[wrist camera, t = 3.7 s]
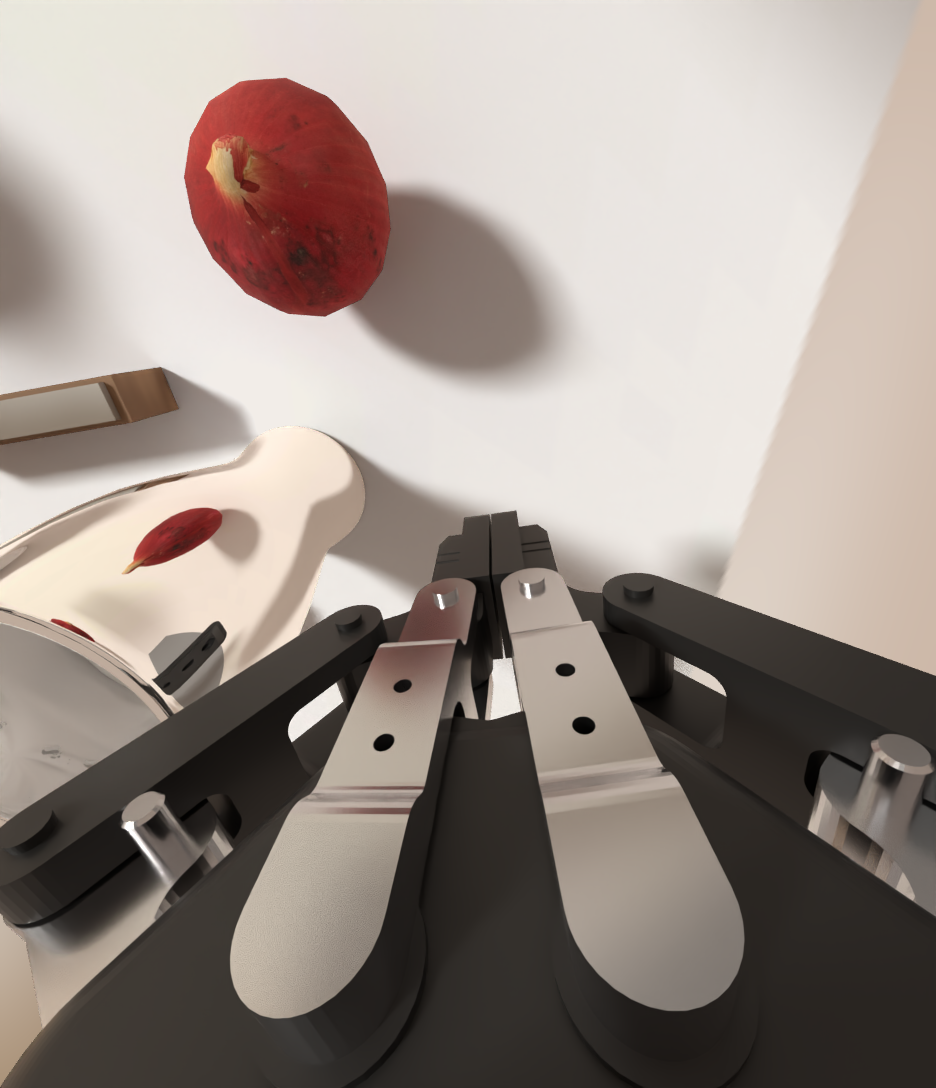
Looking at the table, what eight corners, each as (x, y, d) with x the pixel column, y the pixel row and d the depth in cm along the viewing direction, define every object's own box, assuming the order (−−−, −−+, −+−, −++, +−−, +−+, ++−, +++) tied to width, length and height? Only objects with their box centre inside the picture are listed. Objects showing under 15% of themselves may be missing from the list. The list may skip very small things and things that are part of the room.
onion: (431, 278, 18) (394, 252, 11) (308, 339, 19) (202, 352, 12) (361, 100, 16) (257, -77, 9) (226, 182, 17) (37, 84, 10)
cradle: (-75, 410, 21) (-165, 425, 18) (161, 367, 20) (104, 375, 17) (69, 629, 27) (16, 668, 24) (262, 606, 26) (232, 644, 23)
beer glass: (388, 440, 21) (212, 653, 8) (361, 567, 24) (200, 879, 11) (236, 395, 21) (-243, 541, 7) (228, 531, 24) (-120, 813, 10)
